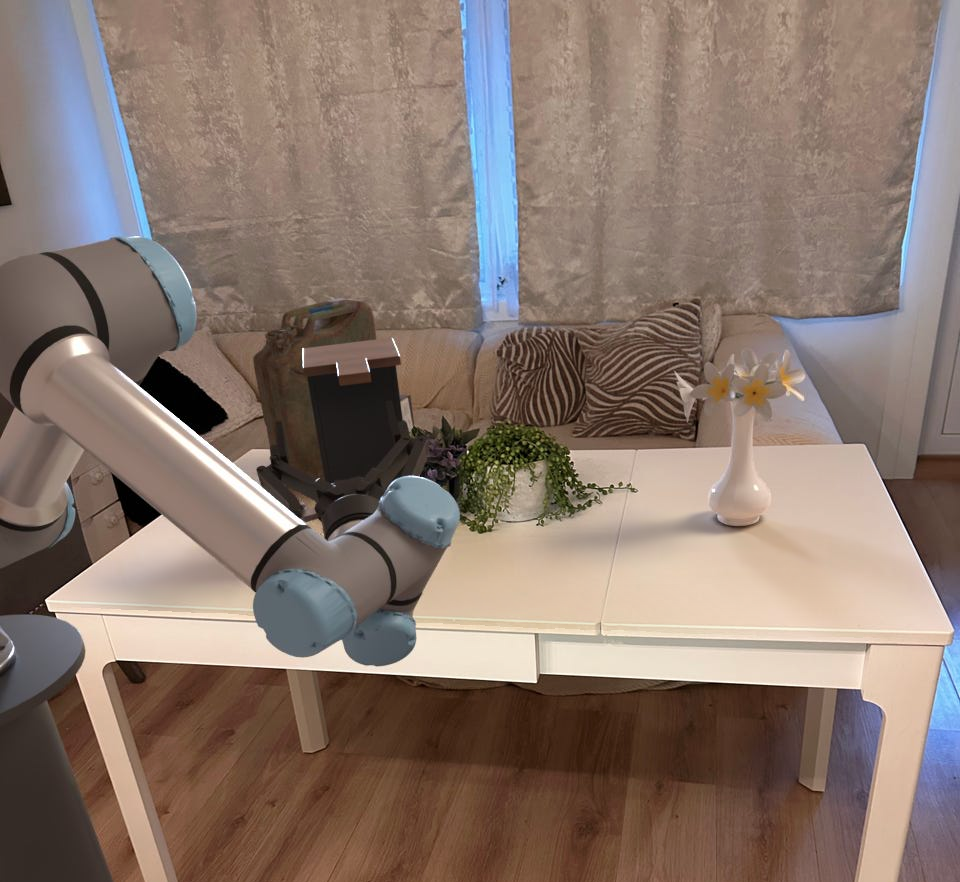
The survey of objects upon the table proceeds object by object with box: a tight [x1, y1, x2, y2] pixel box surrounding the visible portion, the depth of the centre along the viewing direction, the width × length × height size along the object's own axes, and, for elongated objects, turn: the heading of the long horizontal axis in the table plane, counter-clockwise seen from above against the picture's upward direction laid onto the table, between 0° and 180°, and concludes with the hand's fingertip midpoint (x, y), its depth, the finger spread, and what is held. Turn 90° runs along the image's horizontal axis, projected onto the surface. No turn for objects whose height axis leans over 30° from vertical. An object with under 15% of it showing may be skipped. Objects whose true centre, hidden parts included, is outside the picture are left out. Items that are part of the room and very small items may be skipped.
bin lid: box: [303, 337, 402, 386], centre depth 129 cm, size 20×13×2 cm, turn 9°
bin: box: [307, 365, 407, 490], centre depth 139 cm, size 12×12×29 cm
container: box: [252, 298, 378, 481], centre depth 175 cm, size 23×10×30 cm, turn 133°
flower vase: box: [673, 347, 806, 527], centre depth 138 cm, size 13×18×25 cm
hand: (335, 419), depth 116 cm, fingers open, 13 cm apart
